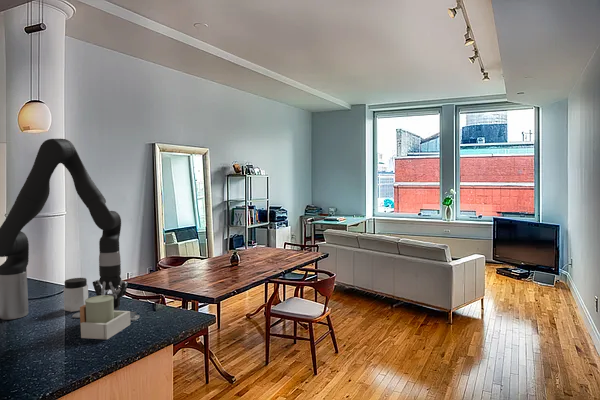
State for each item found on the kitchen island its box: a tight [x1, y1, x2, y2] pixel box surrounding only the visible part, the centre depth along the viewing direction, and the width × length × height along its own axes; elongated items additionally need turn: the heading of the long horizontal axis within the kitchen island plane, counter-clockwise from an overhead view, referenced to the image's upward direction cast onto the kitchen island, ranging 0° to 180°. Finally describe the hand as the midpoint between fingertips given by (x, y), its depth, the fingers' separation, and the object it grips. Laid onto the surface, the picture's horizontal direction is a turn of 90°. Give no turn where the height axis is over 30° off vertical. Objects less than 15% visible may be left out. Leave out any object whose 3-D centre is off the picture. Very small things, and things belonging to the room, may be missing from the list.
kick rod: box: [79, 292, 137, 327], centre depth 157 cm, size 12×18×8 cm
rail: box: [72, 311, 140, 322], centre depth 164 cm, size 26×3×1 cm, turn 81°
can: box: [85, 295, 114, 323], centre depth 150 cm, size 9×9×12 cm
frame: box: [80, 310, 131, 340], centre depth 150 cm, size 10×14×5 cm, turn 171°
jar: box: [63, 277, 89, 313], centre depth 176 cm, size 9×8×12 cm
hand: (111, 307), depth 164 cm, fingers closed on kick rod, 4 cm apart
